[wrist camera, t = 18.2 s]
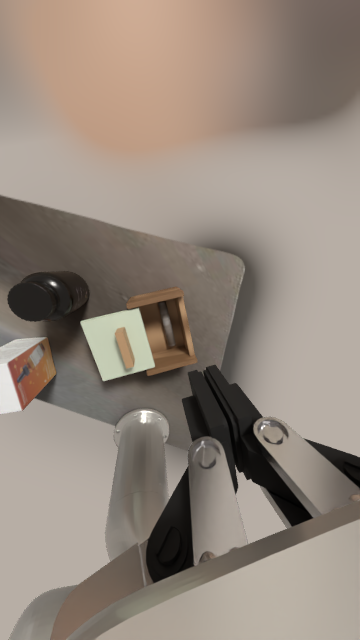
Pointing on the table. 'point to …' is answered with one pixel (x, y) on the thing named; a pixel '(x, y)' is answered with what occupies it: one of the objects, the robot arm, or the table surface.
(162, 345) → the brown wooden box
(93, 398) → the table surface
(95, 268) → the table surface
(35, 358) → the small box
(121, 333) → the lid
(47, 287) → the supplement bottle
